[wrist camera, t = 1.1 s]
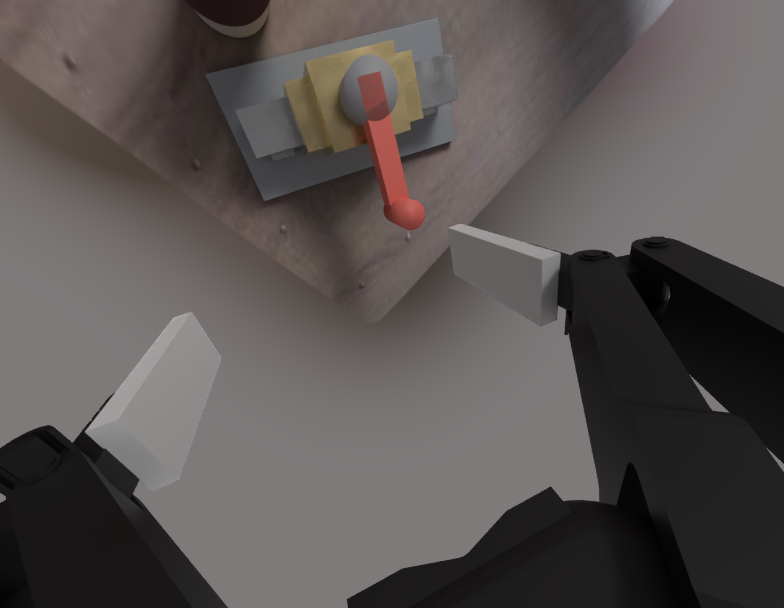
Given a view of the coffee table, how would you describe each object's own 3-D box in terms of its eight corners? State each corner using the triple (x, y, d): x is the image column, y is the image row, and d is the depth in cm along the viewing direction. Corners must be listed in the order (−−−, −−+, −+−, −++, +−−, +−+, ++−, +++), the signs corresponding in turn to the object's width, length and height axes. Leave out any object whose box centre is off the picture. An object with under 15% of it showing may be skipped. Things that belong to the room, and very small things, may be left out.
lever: (331, 74, 25) (342, 50, 20) (379, 61, 25) (400, 35, 20) (376, 226, 31) (393, 237, 26) (413, 213, 32) (436, 221, 27)
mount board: (434, 21, 32) (438, 17, 31) (451, 140, 38) (455, 139, 37) (207, 77, 28) (204, 74, 28) (264, 200, 34) (264, 201, 33)
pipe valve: (430, 49, 32) (462, 22, 26) (441, 120, 36) (472, 110, 30) (234, 100, 29) (220, 82, 23) (266, 174, 32) (262, 175, 26)
